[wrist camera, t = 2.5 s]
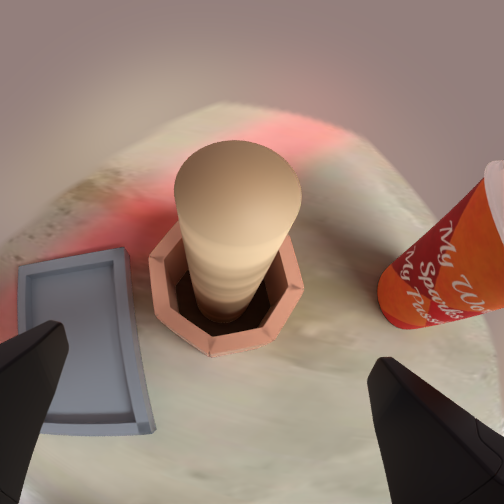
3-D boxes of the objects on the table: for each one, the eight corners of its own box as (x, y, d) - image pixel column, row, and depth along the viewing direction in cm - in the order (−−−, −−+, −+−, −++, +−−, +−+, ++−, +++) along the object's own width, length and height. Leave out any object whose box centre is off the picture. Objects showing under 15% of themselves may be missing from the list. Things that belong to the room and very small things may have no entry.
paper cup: (346, 285, 21) (485, 174, 8) (402, 235, 23) (512, 134, 10) (403, 364, 19) (566, 328, 6) (450, 305, 21) (576, 241, 8)
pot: (290, 340, 19) (315, 331, 14) (175, 363, 17) (162, 361, 13) (264, 236, 21) (279, 200, 17) (159, 253, 20) (145, 218, 15)
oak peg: (253, 317, 19) (317, 235, 8) (201, 327, 18) (181, 256, 7) (242, 268, 20) (282, 137, 9) (192, 276, 20) (169, 147, 8)
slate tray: (156, 429, 15) (152, 433, 14) (43, 429, 14) (33, 432, 12) (129, 255, 20) (124, 246, 18) (28, 272, 18) (18, 266, 16)
